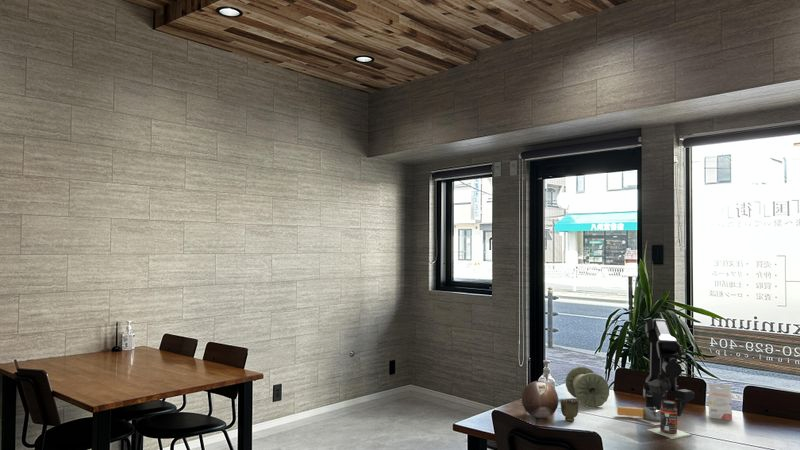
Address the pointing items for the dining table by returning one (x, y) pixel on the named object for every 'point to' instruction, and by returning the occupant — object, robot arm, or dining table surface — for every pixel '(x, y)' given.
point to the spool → (587, 387)
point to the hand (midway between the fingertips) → (668, 413)
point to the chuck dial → (640, 412)
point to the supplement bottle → (668, 417)
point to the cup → (569, 409)
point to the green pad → (671, 436)
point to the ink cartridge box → (720, 401)
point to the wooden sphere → (540, 399)
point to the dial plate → (646, 420)
